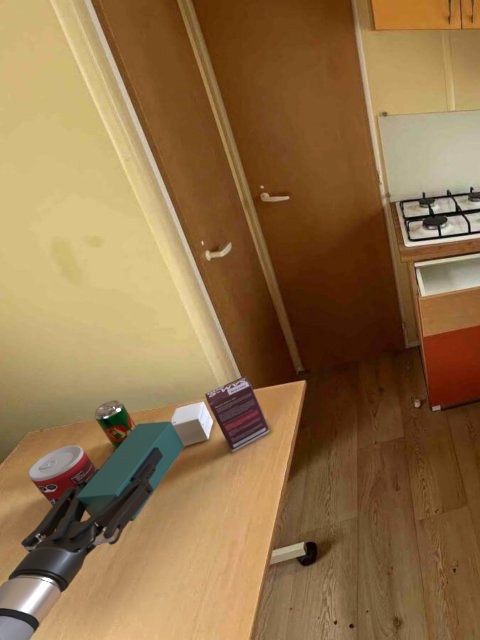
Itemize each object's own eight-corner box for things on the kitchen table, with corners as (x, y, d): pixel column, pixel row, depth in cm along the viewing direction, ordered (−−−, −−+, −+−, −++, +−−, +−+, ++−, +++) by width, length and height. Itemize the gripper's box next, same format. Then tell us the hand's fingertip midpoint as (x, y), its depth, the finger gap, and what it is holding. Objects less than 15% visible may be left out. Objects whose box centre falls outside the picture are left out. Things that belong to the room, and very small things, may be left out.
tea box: (96, 524, 77) (75, 497, 74) (153, 449, 92) (138, 423, 88) (134, 520, 78) (115, 494, 74) (184, 446, 92) (171, 421, 88)
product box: (208, 440, 102) (198, 418, 99) (179, 448, 100) (167, 427, 97) (213, 421, 107) (204, 400, 104) (185, 429, 105) (174, 408, 102)
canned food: (54, 496, 90) (26, 462, 85) (103, 471, 95) (80, 438, 90) (57, 521, 85) (28, 487, 80) (108, 493, 90) (84, 459, 85)
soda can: (129, 433, 104) (108, 398, 99) (147, 435, 104) (127, 400, 98) (109, 450, 100) (86, 414, 94) (128, 453, 99) (105, 417, 94)
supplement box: (264, 421, 108) (246, 374, 100) (270, 432, 104) (252, 385, 97) (225, 441, 102) (203, 393, 95) (231, 453, 99) (208, 405, 92)
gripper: (-22, 606, 64) (94, 469, 85) (115, 592, 66) (197, 461, 86) (-53, 581, 61) (77, 444, 81) (93, 566, 63) (184, 436, 83)
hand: (139, 453), depth 84 cm, fingers closed on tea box, 6 cm apart
